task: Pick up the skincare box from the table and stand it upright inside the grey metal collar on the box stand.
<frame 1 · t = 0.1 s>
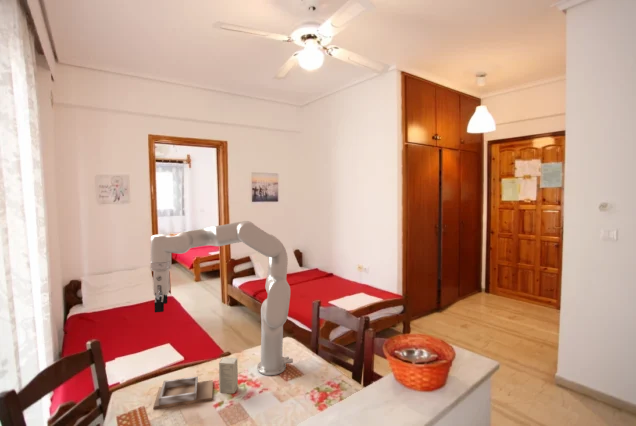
hand: (161, 307, 132), 31 cm above the table, tool pointing down, fingers open, 9 cm apart
skincare box: (228, 390, 130), on the table
box stand: (185, 394, 126), on the table
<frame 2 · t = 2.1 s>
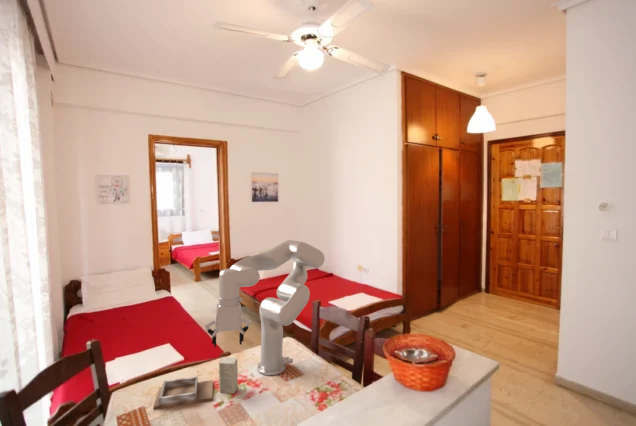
hand: (227, 344, 128), 19 cm above the table, tool pointing down, fingers open, 9 cm apart
nothing on the table moved.
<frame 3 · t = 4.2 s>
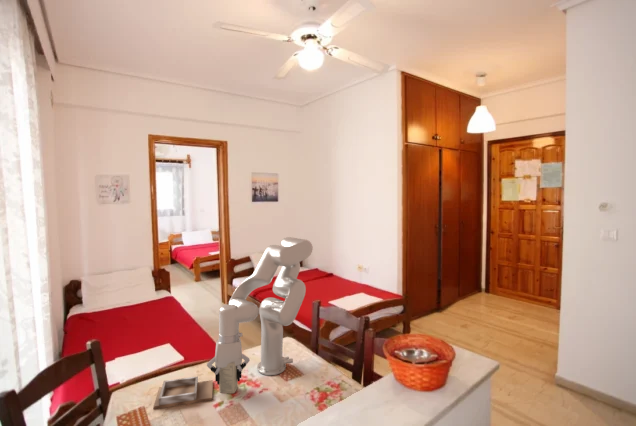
hand: (228, 380, 129), 4 cm above the table, tool pointing down, fingers closed on skincare box, 7 cm apart
skincare box: (228, 390, 130), on the table, touching gripper
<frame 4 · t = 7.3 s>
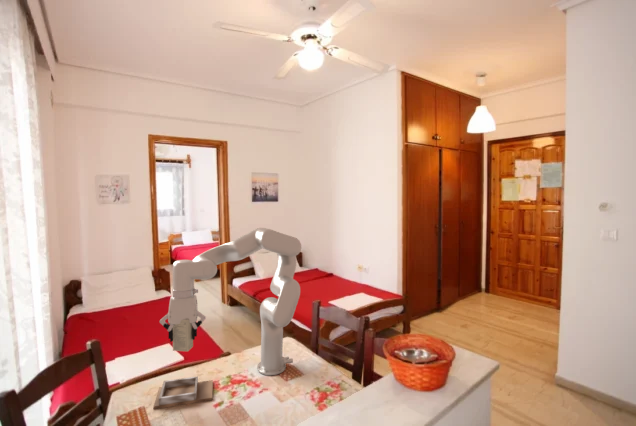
hand: (182, 339, 124), 22 cm above the table, tool pointing down, fingers closed on skincare box, 7 cm apart
skincare box: (182, 349, 124), point 18 cm above the table, touching gripper
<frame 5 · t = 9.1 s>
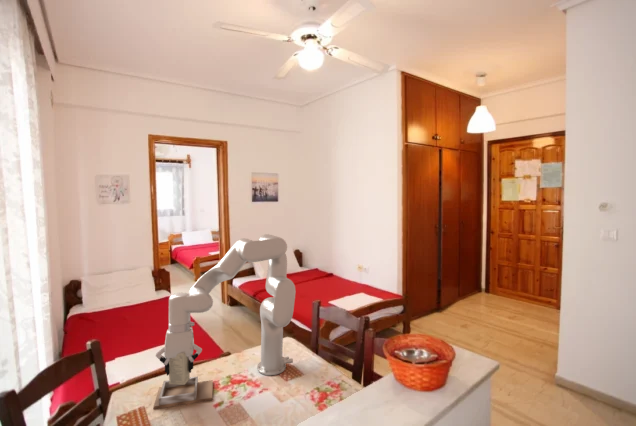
hand: (179, 371, 125), 9 cm above the table, tool pointing down, fingers closed on skincare box, 7 cm apart
skincare box: (179, 382, 125), point 5 cm above the table, touching gripper
when the fingers open (6 cm above the table, at t = 10.7 s): skincare box drops 1 cm, resting on box stand.
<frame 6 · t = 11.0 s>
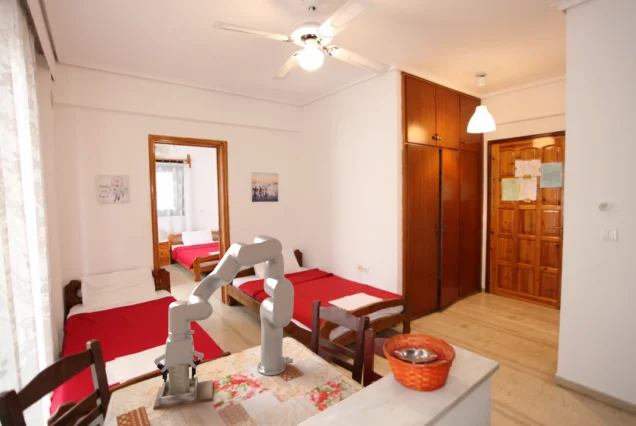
hand: (179, 378, 125), 7 cm above the table, tool pointing down, fingers open, 9 cm apart
skincare box: (179, 393, 125), point 1 cm above the table, touching box stand
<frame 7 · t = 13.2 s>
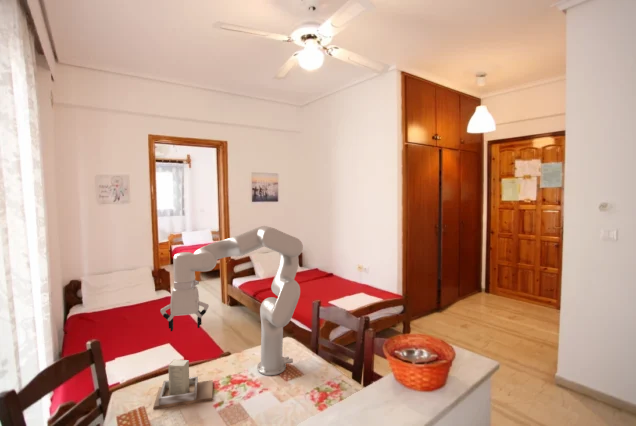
hand: (185, 328, 127), 25 cm above the table, tool pointing down, fingers open, 9 cm apart
nothing on the table moved.
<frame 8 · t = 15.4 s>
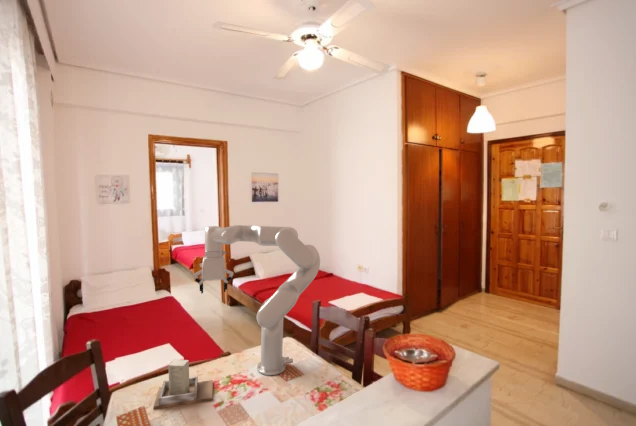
hand: (213, 291, 147), 33 cm above the table, tool pointing down, fingers open, 9 cm apart
nothing on the table moved.
at the end: skincare box 0.1 cm from the target spot on the box stand, point 0.8 cm above the box stand's base; skincare box tilted 0°; the gripper is holding nothing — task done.
